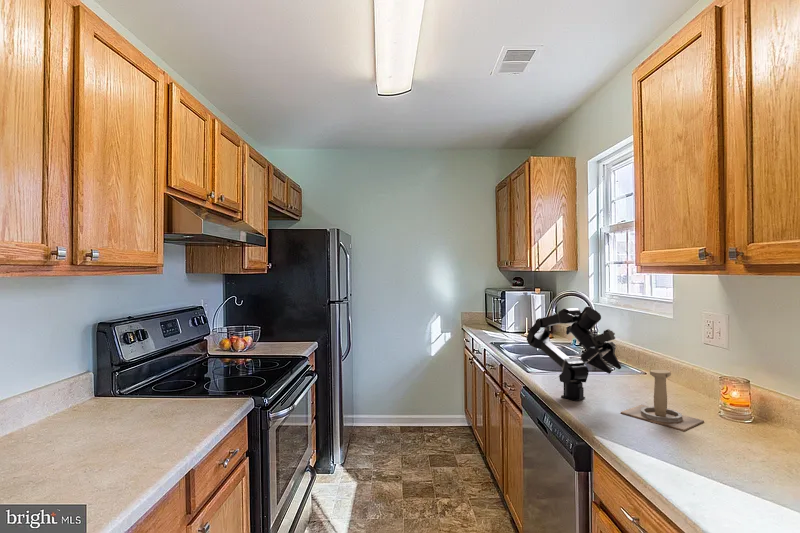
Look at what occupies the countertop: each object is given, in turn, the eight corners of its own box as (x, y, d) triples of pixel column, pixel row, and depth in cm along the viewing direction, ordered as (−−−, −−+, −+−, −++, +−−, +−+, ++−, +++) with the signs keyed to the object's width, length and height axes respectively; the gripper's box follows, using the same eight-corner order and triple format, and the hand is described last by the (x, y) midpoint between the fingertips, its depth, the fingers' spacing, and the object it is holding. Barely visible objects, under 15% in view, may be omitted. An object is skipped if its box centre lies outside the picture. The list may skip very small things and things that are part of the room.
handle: (674, 417, 146) (674, 372, 146) (658, 419, 144) (658, 373, 144) (662, 412, 150) (661, 369, 150) (646, 414, 149) (646, 370, 149)
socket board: (620, 413, 151) (620, 408, 151) (641, 405, 159) (641, 401, 159) (683, 431, 135) (683, 425, 135) (704, 422, 143) (704, 416, 143)
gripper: (589, 325, 154) (622, 361, 146) (610, 320, 166) (641, 353, 158) (567, 344, 159) (598, 380, 151) (589, 338, 172) (619, 371, 164)
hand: (615, 370), depth 156 cm, fingers open, 9 cm apart
